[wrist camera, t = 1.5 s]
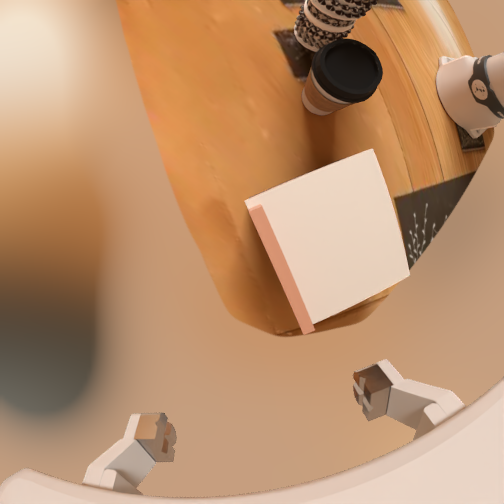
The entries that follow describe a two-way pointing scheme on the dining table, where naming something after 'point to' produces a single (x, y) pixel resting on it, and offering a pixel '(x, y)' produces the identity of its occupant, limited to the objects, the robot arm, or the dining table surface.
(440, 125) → the dining table surface
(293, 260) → the lid
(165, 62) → the dining table surface
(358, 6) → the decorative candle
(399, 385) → the robot arm
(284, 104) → the dining table surface
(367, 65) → the coffee cup
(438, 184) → the dining table surface
